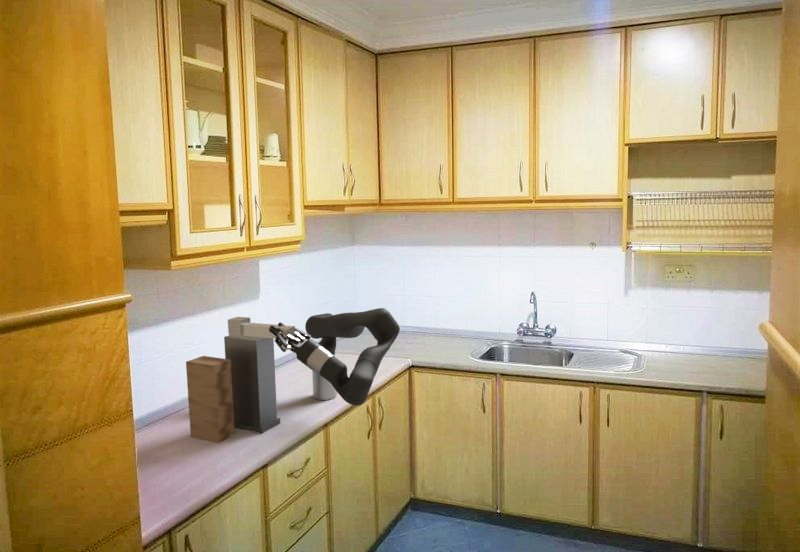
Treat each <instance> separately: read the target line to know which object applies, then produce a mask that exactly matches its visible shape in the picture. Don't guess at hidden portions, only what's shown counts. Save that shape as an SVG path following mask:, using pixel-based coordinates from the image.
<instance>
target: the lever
mask: <svg viewBox="0 0 800 552" xmlns="http://www.w3.org/2000/svg"><path fill="white" fill-rule="evenodd" d="M271 325H274V326H275V327H276V328H278V329H279V330H280V331H281V332H283V333H285V334H286V335H287V334H289V335H291V336H294V335H295V328H296V326H295V325H285V324H284V325H278V324H271V323H260V322H259V323H256V322H251V317H247V316H236V317H231V318H229V319H227V328H228V329H227V331H228V332H227V333H228V336H229V335H235V336H253V337H264V338H273V339H274V340H275V339H276V336H275V335H273V334H272V333H271V332H270V331H269V328H270V326H271ZM282 337H283V338H285V337H284V336H282ZM288 339H289V338H288ZM288 339H287V341H288Z"/></svg>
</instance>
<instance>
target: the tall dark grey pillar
mask: <svg viewBox="0 0 800 552" xmlns="http://www.w3.org/2000/svg"><path fill="white" fill-rule="evenodd" d="M223 341H224V355H225V356H224V357H225V358H224V359H229V360H231V375H232V393H233V412H234V429H236V430H237V429H238V430H239V429H240V430H244V431H247V430H248V432H252V431H253V432H254V433H257V432H259V433H258V434H264V433H265V432H267V431H270V430H271V429H273V428H275V427H277V426H279V425H280V424H281V417H278V412H277V411H278V410H277V386H276V384H277V383H276V366H275V365H276V363H275V362H276V361H275V346H274V345H275V343H274V342H275V338H264V337H253V336H235V335H229V334H228V335H226V336H224V337H223ZM269 429H270V430H269Z"/></svg>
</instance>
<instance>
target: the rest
mask: <svg viewBox="0 0 800 552" xmlns="http://www.w3.org/2000/svg"><path fill="white" fill-rule="evenodd" d="M185 368H186V384H187V399H188V400H187V401H188V415H189V416H188V417H189V432H190V438H194V439H198V440H199V439H200V440H204V441H207V442H213V443H216V444H219V443H221V442H223V441H224V440H226V439H229V438H231V437H232V436H234V435H236V434H235V433H236V432H235V428H234V412H233V393H232V375H231V360H229V359H225V358H221V357H214V356H207V355H203V356H198V357H196V358H193V359H190V360H187V361H185Z"/></svg>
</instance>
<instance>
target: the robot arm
mask: <svg viewBox="0 0 800 552" xmlns="http://www.w3.org/2000/svg"><path fill="white" fill-rule="evenodd" d="M274 325H275V324H272V325H271V326H270V328H269V331H270V332H271V333H272V334H273V335H275V336H276V339H275V338H274V342H275V344H276V345H277V347H278V348H279V349H280V350H281V352H283V353H286V352H287V351H290V352H292V353H295V355H296V359H297V360H298V361H299V362H300V363H302V364H303V365H305V367H307V368H308V369H310V370H312V371H311V374H312V375H311V376H312V397H313V399H314V400H320V401H328V400H332V399H334V398H337V395H339V396H340V397H341V399H343V401H345V402H346V403H348V404H349V405H352V406H355V407H356V406H357V407H359V406H361V405H363V404H365V403H366V400H367V398H368V395H369V392H370V390H371V388H372V385H373V382H374V380H375V377H376V374H377V373H378V370H379V368H380V365H381V362H382V361H383V359H384V357H385V356H386V354H387V353H388V351H389V350H390V348H391V347H392V345H393V344H394V343H395V341H396V339H397V338H398V336H399V334H400V331H401V328H400V325H399V324H398V322H397V320H396V319H395V317H393V315H392V314H391V312H390V311H389V310H388V309H386V308H384V307H380V308H374V309H369V310H364V311H358V312H355V311H354V312H342V313H337V314H334V315H333V314H332V313H329V312H328V313H327V312H326V313H321V314H315V315H311V316H310V317H309V318H307V320H306V321H305V331H306V332H304V331H302V330H301V329H299V328H297V327H295V335H294V336H291V335H289V334H287V335H286V334H285V333H283V332H281V331H280V330H279V329H278V328H276V327H275V326H274ZM277 325H285V324H284V323H283V322H278V324H277ZM365 329H367V330H368V331H369V333H370V334H371V335H372V336H373V338H374V339H375V340H376V341H377V343H376V345H373V346H369V347H366V348H364V350H362V351H361V352H360V354H359V356H358V358H357V359H356V362H355V365H354V367H353V369H352V371H351V372H350V375H348V367H347V365H346V364H345V363H344V362H342V361H341V360H340V359H338V358H337V357H336V349H337V338H340V339H341V338H342V339H355V338H357V337H359V336H360V335H362V333H363V332H364V331H365ZM282 336H284V337H285V338H283V337H282ZM288 338H289V339H288ZM287 339H288V340H287ZM314 339H316V340H319V339H321V340H320V341H319V342H317V341H316V340H314Z"/></svg>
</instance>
